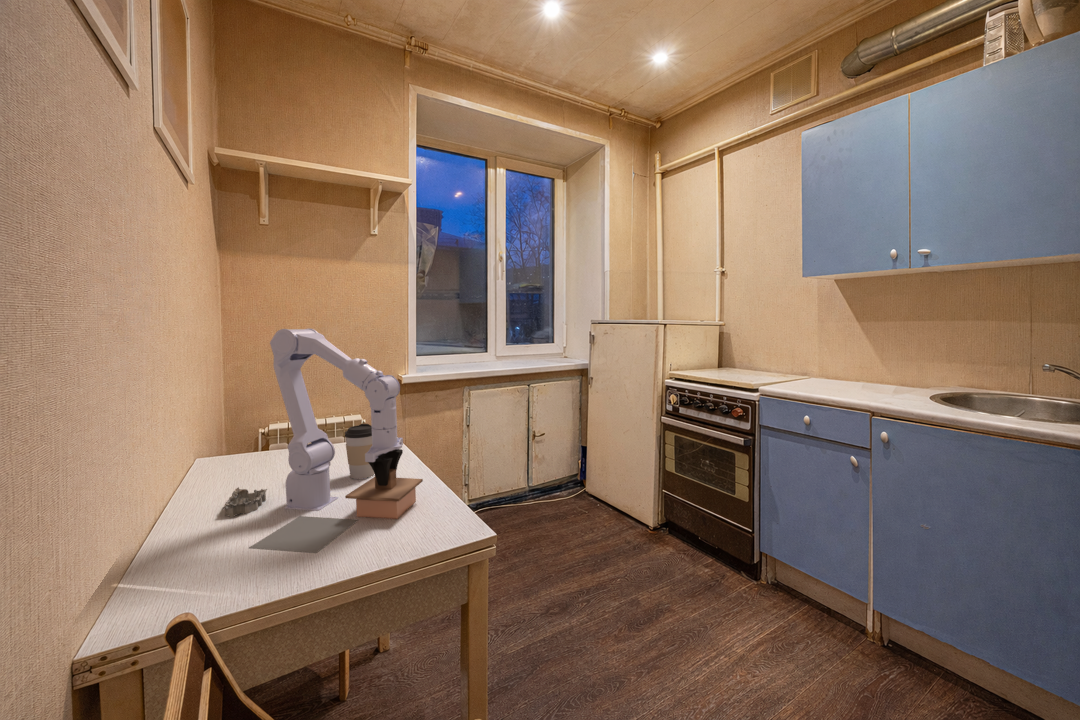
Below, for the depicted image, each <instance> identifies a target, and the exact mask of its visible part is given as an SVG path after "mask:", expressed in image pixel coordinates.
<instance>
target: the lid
mask: <svg viewBox="0 0 1080 720" xmlns="http://www.w3.org/2000/svg"><path fill="white" fill-rule="evenodd" d="M423 481H424V480H423V478H414V477H411V478H410V477H397V470H396V469H389V480H388V485H387V486H379V485H378V483H377V479H376V476H375V475H374V476H373V477H371V479H370V478H369V480H367V481H366V482H364V483H363V484H361V485H360V486H358V487H357V488H355V489H353V490H352V491H350V492H349V493H348V494H346V495H345V496H344V497H345V499H348V500H349V499H350V500H353V499H354V500H356V499H366V500H383V501H400V500H401V499H402V498H404V497H405V496H406V495H407V494H408V493H409V492H411V491H412V490H413V489H414V488H415V489H416V488H417V487H418V486H420V484H421V483H423Z"/></svg>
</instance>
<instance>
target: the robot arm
mask: <svg viewBox="0 0 1080 720" xmlns="http://www.w3.org/2000/svg"><path fill="white" fill-rule="evenodd" d="M269 345H270V349H271V351H272V355H273V370H274V373H275V374H274V375H275V377H276V380H277V384H278V387H279V390H280V394H281V397H282V399H283V400H282V401H283V404H284V407H285V410H286V412H287V413H286V414H287V416H288V417H287V418H288V420H289V423H290V427H291V431H292V433H293V437H292V438H291V439H290V441H289V443H288V444H287V450H288V465H289V467H290V468H291V471H290V472H289V473H288V474H287V477H286V479H285V496H286V498H285V499H286V506H284V509H285V510H287V509H288V510H300V511H302V510H303V511H317V512H318V511H321V510H323V509H324V508H326V507H327V506H329V505H330V504H332V503H333V502H335V501H337V500H338V499H339V497H338V496H331V478H330V467H331V462H332V461H333V459H334V457H335V455H336V449H335V448H336V447H334V444H333V442H331V440H330V439H329V437H328V433H326V432H325V431H323V429H320V428H319V427H318V423H317V420H316V418H315V414H314V409H313V407H312V403H311V401H310V397H309V393H308V391H307V390H308V389H307V386H306V383H305V380H304V377H303V373H302V370H301V369H302V367H303V366H304V364H305V362H306V361H308V360H309V359H310V358H311V357H313V356H314V355H315V356H318V357H319V358H321V359H323V360H324V361H326V362H328V364H331V365H332V366H334V367H336V368H338V369H340V370H341V371H342V376H343V378H344V379H346V380H347V382H350V383H351V384H353V385H354V386H356V387H357V388H359V389H360V390H361V391H363V392H364V396H365V398H366V399H367V400H368V403H369V408H370V417H371V422H370V425H371V426H372V446H371V448H370V449H369V451H368V452H367V453H365V462H368V463H369V464H370V466H371V467H372V469H373V471H374V473H375V475H374V477H375V476H376V479H377V483H378V485H379V486H387V485H388V480H389V469H396V471H397V470H398V464H399V461H400V459H401V457H402V455H403V452H404V451H403V449H402V448H403V445H404V439H403V437H398V422H397V421H398V417H397V397H398V395H399V394H400V392H401V384H400V382H399V380H398V379H397V378H396V377H395V376H394V375H392V374H384V372H383V371H382V370H378V369H376V368H374V367H373V366H371V365H370V364H368V360H367V359H365V358H358V357H356V358H351V357H349V355H347V354H346V353H344V352H343V351H342V350H341V349H339V348H338V347H336V346H335V345H334V344H333V343H331V341H329V340H327V339H326V337H325V335H324V334H322V333H320V332H318V331H317V330H316V329H314V328H304V329H298V328H296V329H294V328H293V329H288V328H281V329H279V330H277V331H276V332H275V333H274V335H273V336H272V339H271V340H270V341H269ZM329 466H330V467H329Z"/></svg>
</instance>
